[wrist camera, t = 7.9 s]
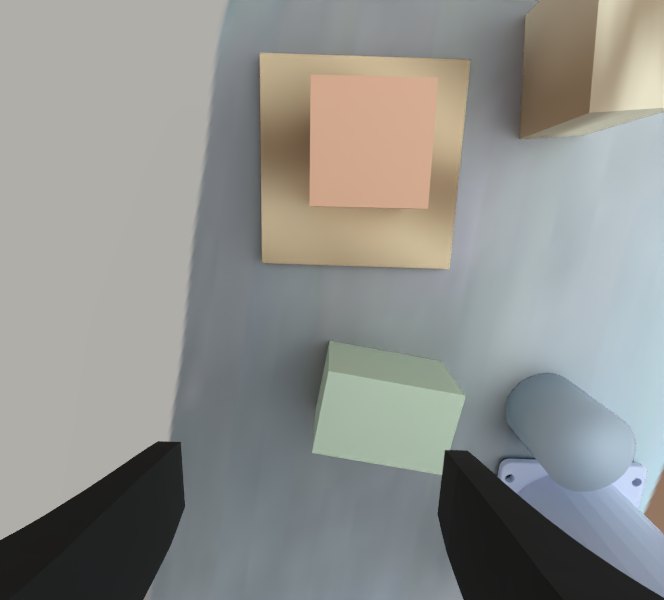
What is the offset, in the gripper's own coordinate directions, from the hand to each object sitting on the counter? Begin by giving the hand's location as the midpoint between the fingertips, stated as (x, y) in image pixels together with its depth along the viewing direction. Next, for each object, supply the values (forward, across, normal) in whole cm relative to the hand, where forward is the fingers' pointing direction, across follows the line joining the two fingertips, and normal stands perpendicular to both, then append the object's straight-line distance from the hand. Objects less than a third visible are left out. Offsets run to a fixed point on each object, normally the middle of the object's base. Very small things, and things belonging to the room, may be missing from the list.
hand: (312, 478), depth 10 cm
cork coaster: (+10, -2, -9) cm, 13 cm away
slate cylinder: (+10, -12, +3) cm, 16 cm away
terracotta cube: (+9, -2, -9) cm, 13 cm away
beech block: (+8, -9, -13) cm, 17 cm away
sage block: (+10, -3, +2) cm, 11 cm away
